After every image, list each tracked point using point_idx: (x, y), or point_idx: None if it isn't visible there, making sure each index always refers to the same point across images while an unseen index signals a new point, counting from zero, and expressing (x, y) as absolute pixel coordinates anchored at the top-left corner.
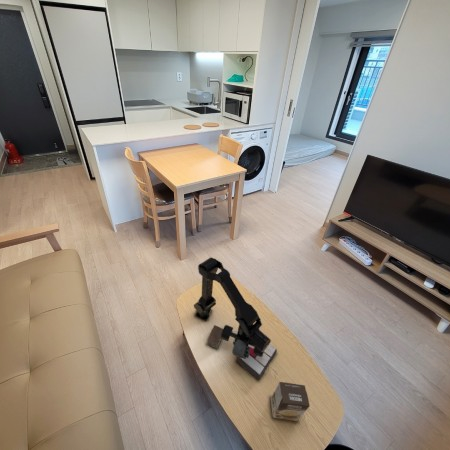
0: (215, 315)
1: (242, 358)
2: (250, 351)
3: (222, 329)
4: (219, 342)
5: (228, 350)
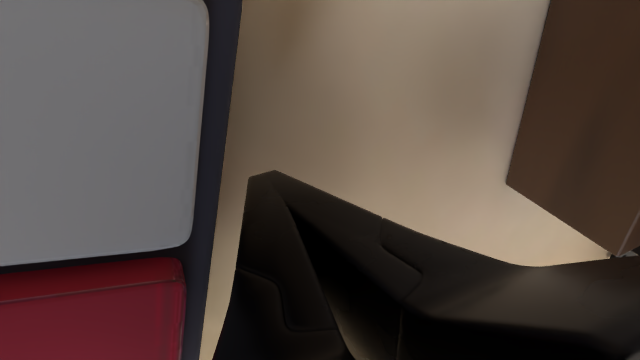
0: (577, 257)
1: (76, 9)
2: (24, 352)
3: (635, 239)
4: (592, 57)
5: (411, 46)
